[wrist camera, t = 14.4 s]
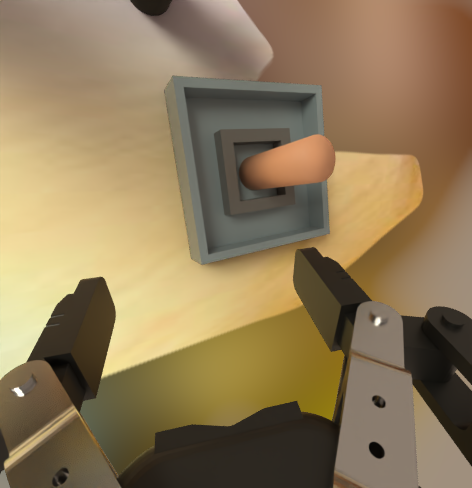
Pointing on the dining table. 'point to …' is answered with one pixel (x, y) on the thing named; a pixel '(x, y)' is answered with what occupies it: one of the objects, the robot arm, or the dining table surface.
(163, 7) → the drinking cup
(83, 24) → the dining table surface
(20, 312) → the dining table surface
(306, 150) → the peg
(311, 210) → the tray
